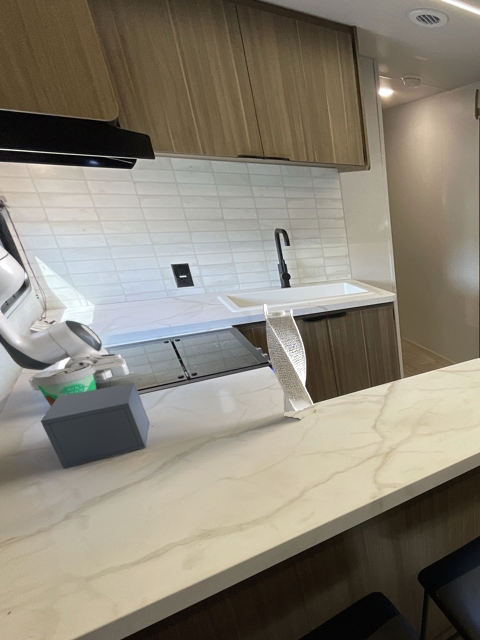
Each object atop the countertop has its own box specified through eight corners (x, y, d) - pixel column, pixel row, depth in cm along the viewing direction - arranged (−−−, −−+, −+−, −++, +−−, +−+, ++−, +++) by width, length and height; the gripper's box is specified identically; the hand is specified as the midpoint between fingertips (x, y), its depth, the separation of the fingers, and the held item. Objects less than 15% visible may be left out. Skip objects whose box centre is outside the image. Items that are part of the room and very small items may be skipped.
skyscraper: (276, 418, 100) (248, 306, 90) (299, 405, 106) (276, 300, 96) (300, 422, 97) (275, 308, 87) (323, 409, 104) (301, 302, 94)
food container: (59, 416, 103) (42, 380, 99) (46, 413, 105) (29, 377, 101) (116, 397, 114) (103, 364, 110) (103, 395, 116) (89, 362, 112)
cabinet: (77, 439, 92) (58, 396, 88) (149, 422, 99) (134, 382, 95) (63, 468, 80) (40, 420, 77) (145, 447, 88) (128, 402, 84)
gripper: (32, 366, 114) (17, 380, 104) (126, 352, 126) (121, 363, 115) (41, 387, 117) (27, 402, 106) (133, 371, 128) (129, 384, 118)
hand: (77, 382), depth 111 cm, fingers open, 8 cm apart
